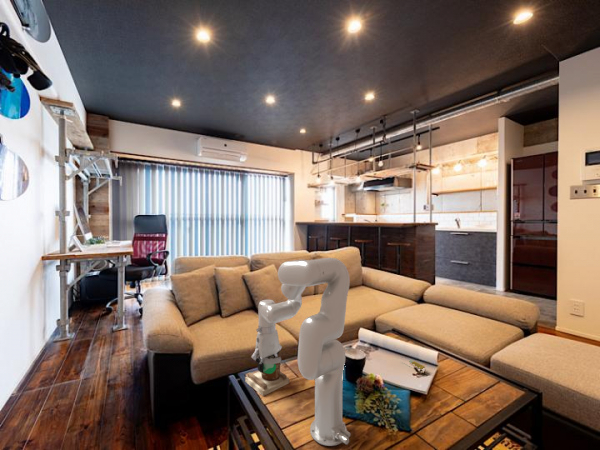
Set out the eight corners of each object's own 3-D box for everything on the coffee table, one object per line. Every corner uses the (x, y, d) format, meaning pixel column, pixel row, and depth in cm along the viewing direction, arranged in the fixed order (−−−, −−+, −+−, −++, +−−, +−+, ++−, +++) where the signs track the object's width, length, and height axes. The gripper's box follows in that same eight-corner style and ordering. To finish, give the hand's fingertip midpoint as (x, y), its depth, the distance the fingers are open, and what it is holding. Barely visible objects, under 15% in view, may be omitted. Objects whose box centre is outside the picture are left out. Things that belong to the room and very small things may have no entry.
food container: (253, 375, 126) (252, 353, 125) (263, 369, 130) (263, 348, 130) (271, 386, 117) (270, 362, 117) (281, 379, 122) (281, 357, 121)
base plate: (289, 383, 123) (289, 375, 123) (262, 396, 114) (262, 387, 114) (270, 370, 134) (270, 363, 134) (245, 381, 124) (245, 373, 124)
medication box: (401, 365, 139) (400, 357, 139) (405, 363, 140) (404, 355, 140) (422, 376, 128) (421, 367, 128) (425, 374, 130) (425, 365, 130)
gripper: (255, 336, 115) (255, 379, 115) (287, 325, 126) (287, 365, 126) (245, 331, 120) (245, 372, 121) (277, 321, 132) (277, 359, 132)
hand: (267, 368), depth 124 cm, fingers closed on food container, 6 cm apart
